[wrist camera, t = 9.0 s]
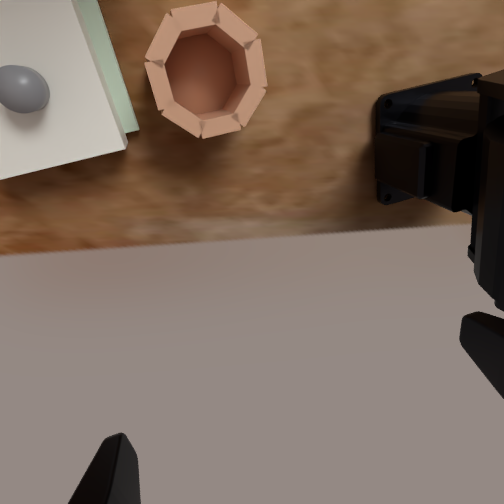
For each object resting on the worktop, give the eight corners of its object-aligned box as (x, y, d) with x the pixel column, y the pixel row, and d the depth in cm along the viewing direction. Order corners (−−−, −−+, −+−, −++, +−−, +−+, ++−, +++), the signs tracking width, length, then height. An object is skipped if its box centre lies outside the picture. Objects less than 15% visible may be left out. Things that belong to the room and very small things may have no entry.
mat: (74, -69, 13) (71, -74, 13) (139, 128, 17) (139, 129, 17) (-120, -39, 13) (-131, -44, 12) (-9, 162, 16) (-14, 165, 16)
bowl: (235, 10, 16) (253, -7, 13) (253, 115, 18) (272, 122, 15) (135, 29, 15) (130, 16, 12) (167, 135, 17) (169, 146, 14)
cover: (74, -8, 14) (56, -27, 11) (128, 142, 17) (123, 153, 14) (-72, 19, 13) (-123, 5, 11) (11, 171, 16) (-15, 187, 14)
